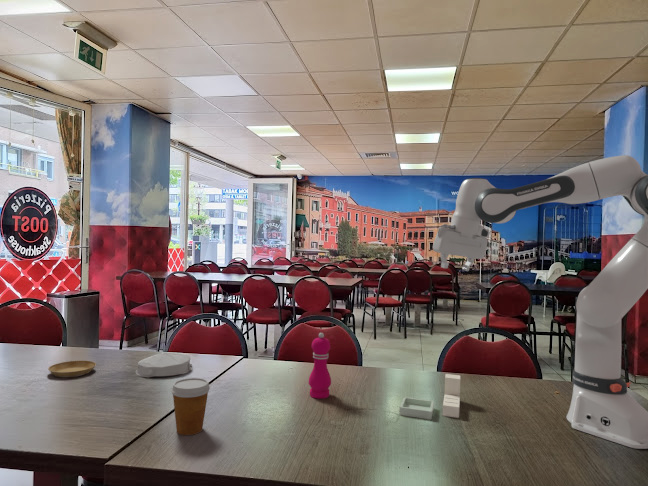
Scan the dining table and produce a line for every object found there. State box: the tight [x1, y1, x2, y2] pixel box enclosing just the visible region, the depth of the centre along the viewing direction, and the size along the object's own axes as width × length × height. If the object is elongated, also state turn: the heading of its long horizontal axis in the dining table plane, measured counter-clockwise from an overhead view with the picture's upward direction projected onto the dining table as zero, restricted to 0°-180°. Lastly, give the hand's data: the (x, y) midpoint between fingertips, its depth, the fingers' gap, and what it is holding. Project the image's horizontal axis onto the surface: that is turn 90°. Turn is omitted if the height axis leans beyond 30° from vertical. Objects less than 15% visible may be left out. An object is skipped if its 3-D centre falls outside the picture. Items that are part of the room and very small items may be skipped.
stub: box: [444, 373, 461, 397], centre depth 138 cm, size 4×4×8 cm
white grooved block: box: [442, 393, 461, 419], centre depth 130 cm, size 10×4×3 cm, turn 162°
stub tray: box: [398, 396, 435, 420], centre depth 129 cm, size 9×9×2 cm
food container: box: [135, 352, 194, 379], centre depth 162 cm, size 20×20×7 cm
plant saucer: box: [48, 360, 97, 378], centre depth 156 cm, size 15×15×3 cm
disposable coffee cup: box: [170, 377, 211, 436], centre depth 112 cm, size 10×10×12 cm
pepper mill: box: [308, 332, 332, 400], centre depth 140 cm, size 7×7×20 cm
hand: (454, 269), depth 143 cm, fingers open, 8 cm apart
